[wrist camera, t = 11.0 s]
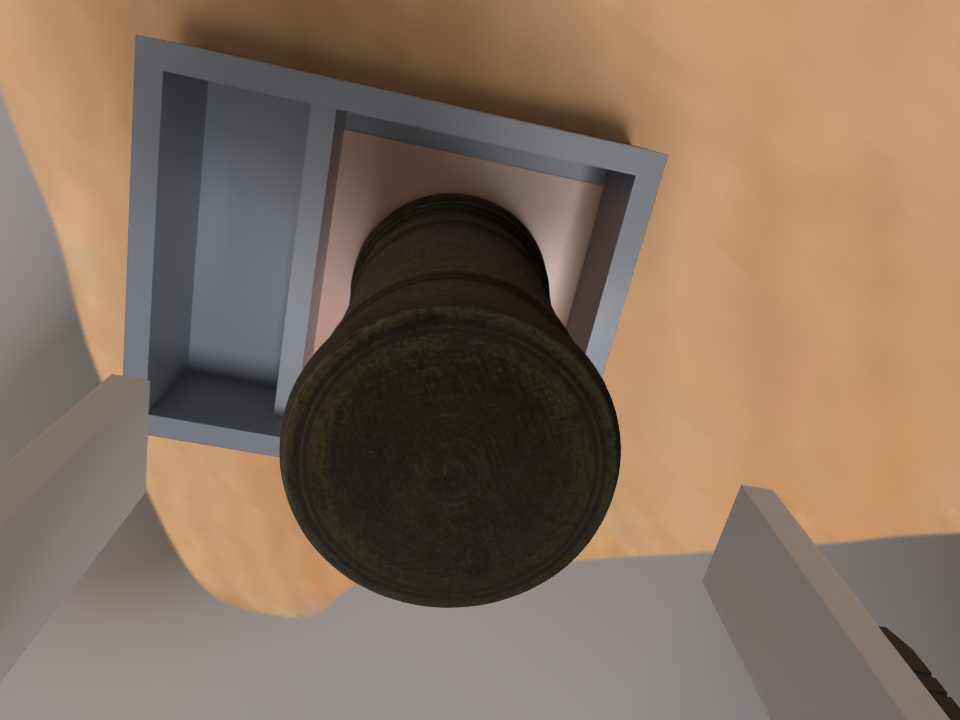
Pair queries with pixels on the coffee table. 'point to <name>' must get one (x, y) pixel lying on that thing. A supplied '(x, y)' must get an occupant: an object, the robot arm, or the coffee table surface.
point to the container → (449, 416)
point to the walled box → (329, 223)
